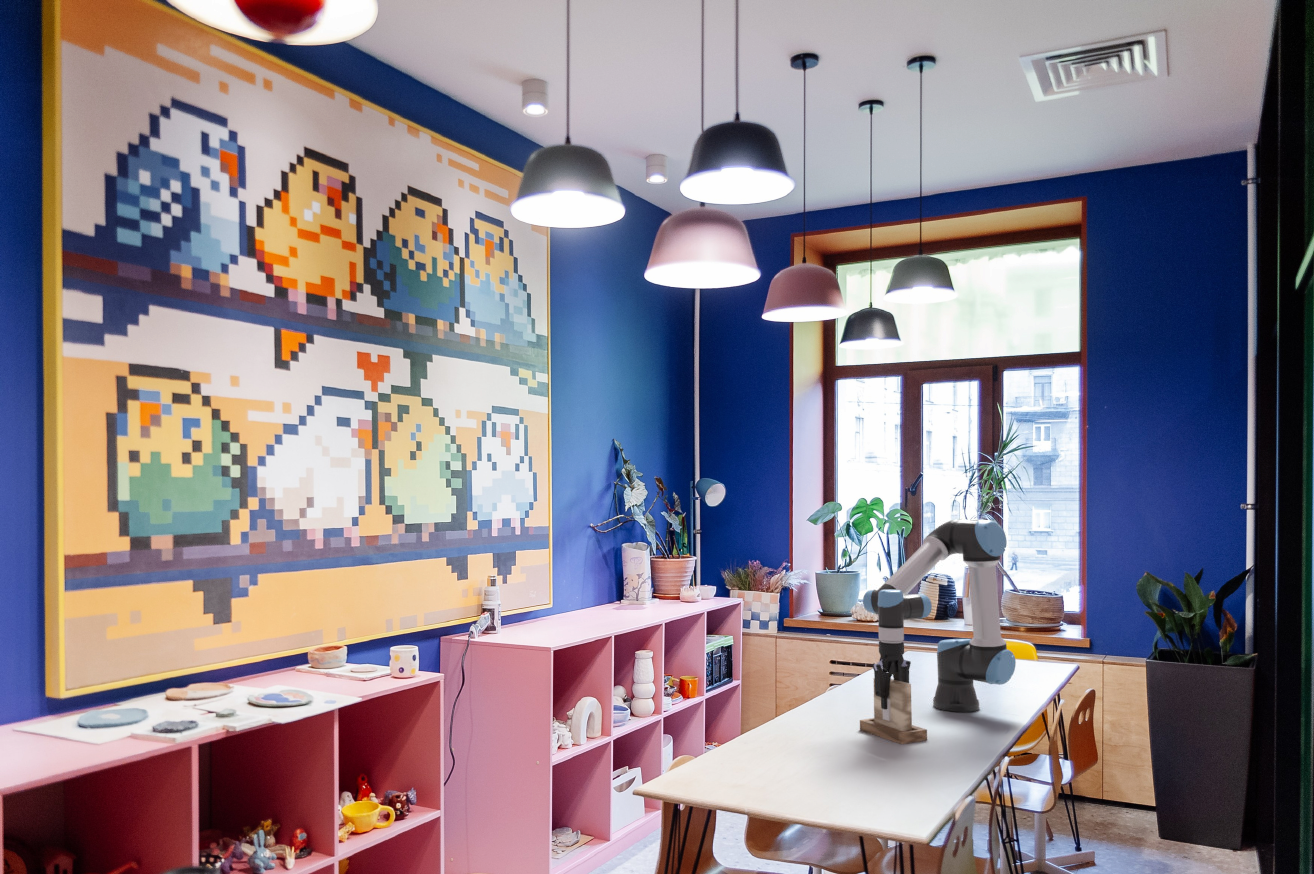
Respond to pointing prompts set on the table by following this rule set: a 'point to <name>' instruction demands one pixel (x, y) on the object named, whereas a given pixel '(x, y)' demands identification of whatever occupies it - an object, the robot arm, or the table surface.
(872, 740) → the table surface
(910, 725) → the panel
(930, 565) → the robot arm
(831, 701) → the table surface
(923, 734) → the track
